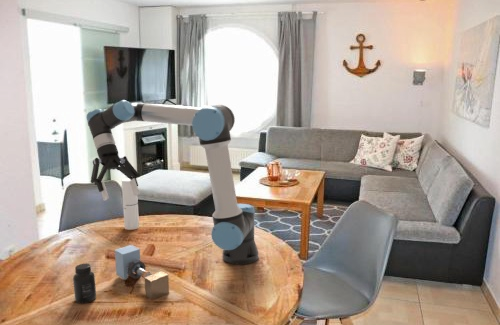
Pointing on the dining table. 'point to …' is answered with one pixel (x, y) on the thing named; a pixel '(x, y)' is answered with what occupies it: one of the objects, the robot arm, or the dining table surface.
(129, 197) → the cylindrical container
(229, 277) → the dining table surface
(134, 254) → the sleeve
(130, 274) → the ring
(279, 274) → the dining table surface
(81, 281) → the supplement bottle
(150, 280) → the pipe rig
